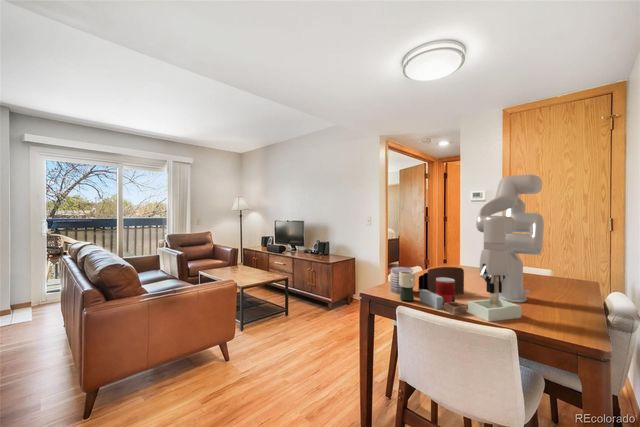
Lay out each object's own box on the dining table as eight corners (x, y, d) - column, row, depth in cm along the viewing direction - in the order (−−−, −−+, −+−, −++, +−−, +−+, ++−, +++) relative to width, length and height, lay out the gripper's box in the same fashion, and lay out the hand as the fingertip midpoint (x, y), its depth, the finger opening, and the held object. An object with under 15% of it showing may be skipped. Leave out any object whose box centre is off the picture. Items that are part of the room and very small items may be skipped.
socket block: (456, 308, 117) (456, 301, 117) (466, 313, 112) (466, 306, 112) (444, 310, 116) (444, 303, 116) (454, 315, 110) (454, 307, 110)
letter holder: (464, 294, 139) (464, 266, 139) (428, 296, 136) (428, 267, 136) (451, 288, 149) (452, 263, 149) (418, 290, 146) (418, 264, 145)
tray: (498, 308, 117) (498, 298, 117) (521, 317, 108) (521, 306, 108) (467, 312, 113) (468, 301, 113) (488, 321, 104) (488, 309, 104)
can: (417, 294, 138) (417, 270, 138) (396, 295, 136) (397, 271, 136) (405, 288, 149) (405, 266, 149) (386, 289, 147) (386, 267, 147)
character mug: (420, 303, 124) (420, 274, 124) (406, 304, 123) (406, 275, 123) (407, 296, 135) (407, 269, 135) (394, 297, 133) (394, 270, 133)
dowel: (493, 305, 112) (494, 274, 112) (500, 308, 109) (500, 275, 109) (487, 306, 112) (488, 274, 112) (494, 308, 109) (494, 276, 109)
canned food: (457, 306, 120) (457, 281, 120) (437, 305, 122) (437, 280, 122) (452, 301, 128) (452, 277, 128) (434, 299, 129) (434, 276, 129)
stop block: (425, 300, 129) (425, 289, 129) (442, 308, 117) (442, 297, 117) (419, 300, 128) (419, 289, 128) (436, 309, 117) (436, 297, 117)
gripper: (502, 245, 116) (501, 288, 116) (470, 246, 112) (470, 291, 112) (519, 247, 109) (518, 293, 109) (485, 248, 105) (485, 296, 105)
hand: (494, 291), depth 111 cm, fingers closed on dowel, 3 cm apart
